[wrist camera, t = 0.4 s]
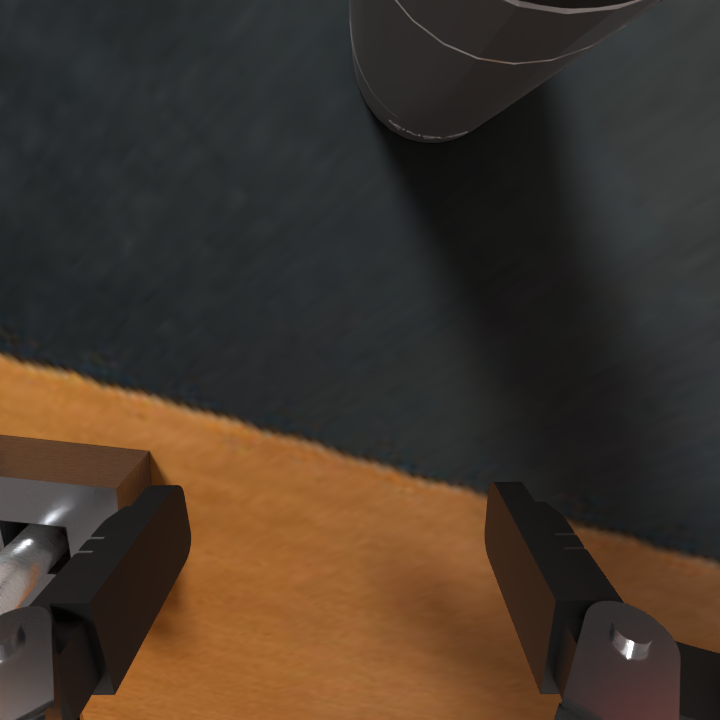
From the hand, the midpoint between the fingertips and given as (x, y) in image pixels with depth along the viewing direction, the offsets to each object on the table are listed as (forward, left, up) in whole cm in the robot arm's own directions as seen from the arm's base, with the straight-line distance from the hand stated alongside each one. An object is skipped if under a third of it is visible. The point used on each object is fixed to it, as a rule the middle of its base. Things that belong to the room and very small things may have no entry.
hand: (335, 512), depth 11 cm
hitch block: (+18, -20, -18) cm, 33 cm away
